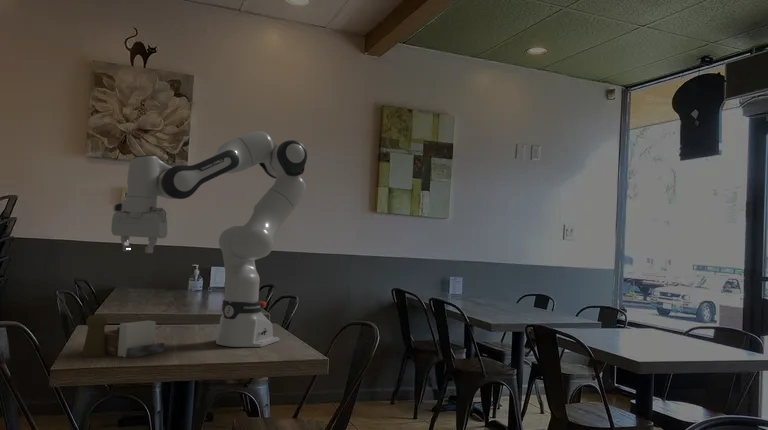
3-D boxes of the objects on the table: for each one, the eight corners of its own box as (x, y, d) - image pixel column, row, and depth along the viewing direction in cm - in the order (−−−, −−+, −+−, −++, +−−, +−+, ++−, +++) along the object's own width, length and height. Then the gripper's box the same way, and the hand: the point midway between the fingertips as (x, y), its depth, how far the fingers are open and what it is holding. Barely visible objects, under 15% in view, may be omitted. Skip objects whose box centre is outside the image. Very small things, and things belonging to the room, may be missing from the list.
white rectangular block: (125, 357, 160) (127, 324, 161) (115, 355, 162) (117, 323, 163) (153, 352, 169) (155, 321, 170) (143, 350, 171) (146, 320, 171)
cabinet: (128, 345, 176) (130, 321, 177) (163, 351, 170) (165, 326, 171) (94, 351, 166) (96, 325, 166) (130, 358, 159) (132, 330, 160)
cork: (96, 357, 158) (99, 317, 158) (76, 355, 159) (80, 315, 159) (110, 353, 163) (113, 315, 164) (92, 351, 165) (95, 313, 165)
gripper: (174, 208, 175) (170, 253, 174) (126, 207, 184) (122, 250, 183) (157, 206, 169) (154, 253, 169) (109, 205, 178) (105, 250, 177)
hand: (137, 252), depth 176 cm, fingers open, 8 cm apart
